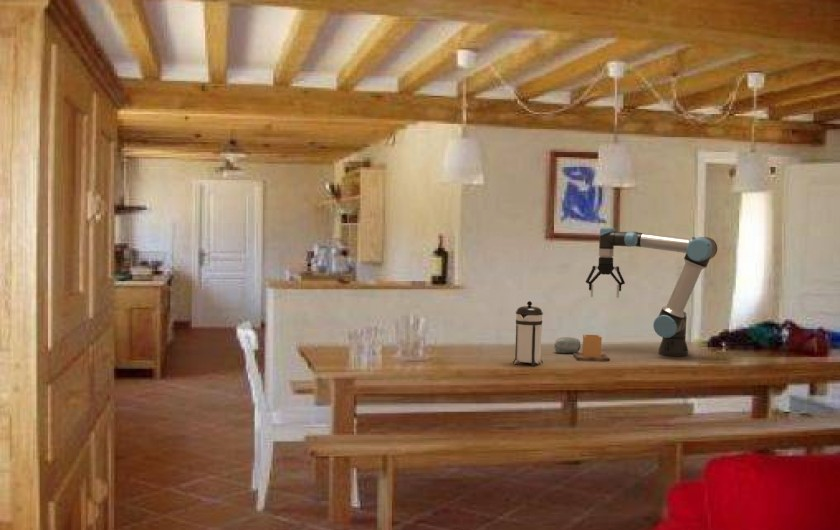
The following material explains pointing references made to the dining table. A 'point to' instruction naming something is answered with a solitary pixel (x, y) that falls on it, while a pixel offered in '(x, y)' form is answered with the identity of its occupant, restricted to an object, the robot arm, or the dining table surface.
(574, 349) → the grey green rounded lump
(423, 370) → the dining table surface
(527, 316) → the coffee press
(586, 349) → the spacer sleeve
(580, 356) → the shaft stand
